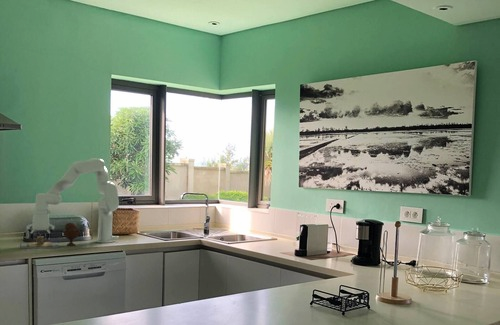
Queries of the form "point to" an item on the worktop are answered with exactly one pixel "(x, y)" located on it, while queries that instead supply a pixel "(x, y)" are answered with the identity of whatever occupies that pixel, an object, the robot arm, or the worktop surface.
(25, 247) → the pale grey flat board
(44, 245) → the walnut lid
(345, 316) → the worktop surface
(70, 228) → the ice cream bowl
